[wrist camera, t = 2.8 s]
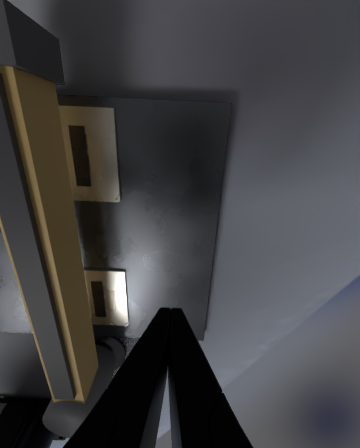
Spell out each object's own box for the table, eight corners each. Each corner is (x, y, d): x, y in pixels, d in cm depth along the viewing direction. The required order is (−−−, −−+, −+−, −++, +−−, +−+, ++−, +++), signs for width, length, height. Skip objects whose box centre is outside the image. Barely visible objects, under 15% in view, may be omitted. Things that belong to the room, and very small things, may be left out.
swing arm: (117, 373, 19) (100, 439, 15) (76, 372, 19) (48, 437, 15) (84, 51, 10) (17, -5, 6) (6, 47, 10) (-113, -12, 6)
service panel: (198, 372, 20) (199, 382, 19) (3, 364, 20) (-5, 374, 19) (229, 104, 12) (233, 102, 11) (-109, 88, 11) (-132, 84, 11)
